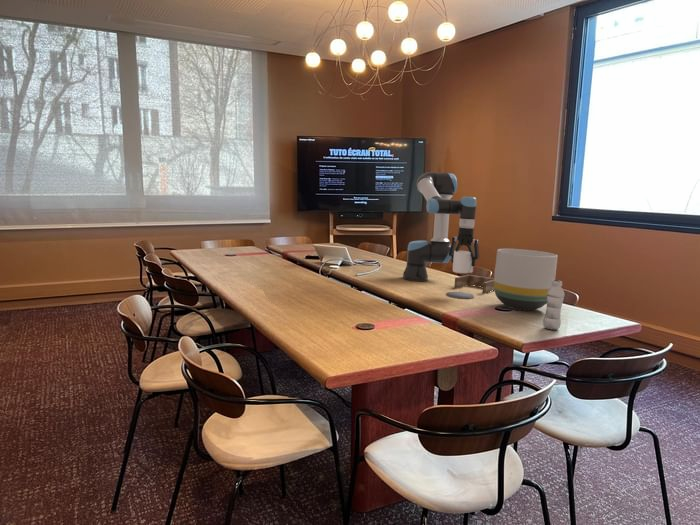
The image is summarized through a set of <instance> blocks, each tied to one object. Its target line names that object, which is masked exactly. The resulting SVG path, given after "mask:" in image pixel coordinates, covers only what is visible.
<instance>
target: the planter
mask: <svg viewBox="0 0 700 525" xmlns="http://www.w3.org/2000/svg"><path fill="white" fill-rule="evenodd" d="M495 257H496V258H495V266H494V267H495V268H494V275H493V276H494V278H493V279H494V291H493V292H494V294H495V296H496V297H497V299H498V301H500V302H501V303H502V304H503V305H505V307H508V308H510V309H514V310H517V311H535V310H538V309H541V308H542V307H544V306H546V305H547V292H548V290H549V289H550V288H551V287H552V285H551V284H552V280H556V274H557V266H558V254H555V253H552V252H548V251H547V252H546V251H540V250H533V249H532V250H531V249H521V248H520V249H519V248H498V249H497V251H496V256H495Z"/></svg>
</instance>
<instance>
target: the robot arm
mask: <svg viewBox="0 0 700 525" xmlns="http://www.w3.org/2000/svg"><path fill="white" fill-rule="evenodd" d="M416 188H417V191H418V192H419V193H421V194H422V195H423V197H424V199H425V200H426V205H425V207H426V208H425V209H426V212H427V213H430V214H433V215H434V222H433V237H432V238H431V239H430V243H429V242H428V240H413V241H410V242H408V245H407V252H406V253H407V256H406V257H407V258H406V267H405V269H404V271H403V274H402V279H404V280H407V281H414V282H425V281H426V282H427V281H428V280H429V279H428V278H429V275H428V272H427V263H434V264H435V263H436V264H446V263H449V262H450V261H451V264H453V258H454V251H456V252H458V251H461V250H460V249H461V248H462V246H465V247H467V249H468V251H469V252H471V258H472V259H471V260H470V269H469V273H470V274H472V273H473V272H474V267H475V266H476V260H479V259H480V250H479V248H480V247H479V242H480V239H476V238H474V230H475V229H474V228H475V220H476V213H477V212H476V211H477V205H478V204H477V198H476V197H474V196H462V197H461V199H457V200H456V199H451V198H453V197H454V194H456V193H457V190H458V180H457V176H456V175H455V174H454V173H449V172H433V171H428V172H425V173H422V174H421V175H420V176H419V177H418V179H417V180H416ZM450 215H458V216H459V224H458V226H459V227H458V233H457V234H458V235H457V236H453V237H452V238H451V242H450V239H449V238H448V237H449V225H450V224H449V223H450ZM457 241H458V243H457ZM472 243H473V244H472ZM456 244H457V246H456ZM473 245H474V246H473ZM452 271H453V267H452ZM469 273H468V274H469Z"/></svg>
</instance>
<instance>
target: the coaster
mask: <svg viewBox="0 0 700 525" xmlns="http://www.w3.org/2000/svg"><path fill="white" fill-rule="evenodd" d="M446 296H447V297H449V298H454V299H458V300H459V299H460V300H471V299H474V298H475V296H474V295H473V294H472V293H468V292H461V291H448V292H446Z"/></svg>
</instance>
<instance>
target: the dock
mask: <svg viewBox="0 0 700 525" xmlns="http://www.w3.org/2000/svg"><path fill="white" fill-rule="evenodd" d="M466 285H468V286H470V285H475V286H474V287H476V286H481V287H483V288H482V294H483V293H486V294H488V293H487V292H489V293H491V292H490V291H492V290H494V278H493V277H486V276H480V275H479V276H478V275H473V274H465V275H460V276H457V277H454V286H453V288H454V289H456V290H457V289H460V287H461V288H464V287H467V286H466ZM463 286H464V287H463ZM481 287H480V288H481ZM492 292H493V291H492Z"/></svg>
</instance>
